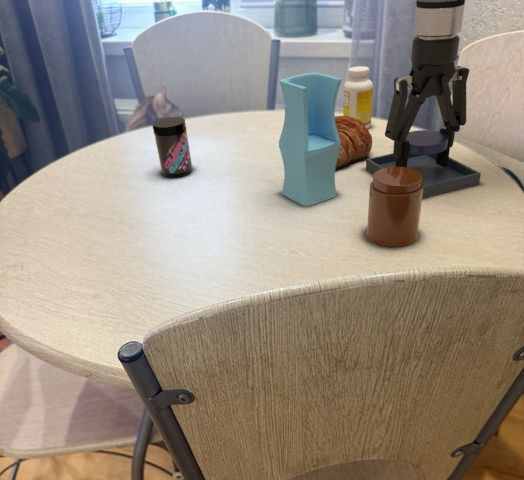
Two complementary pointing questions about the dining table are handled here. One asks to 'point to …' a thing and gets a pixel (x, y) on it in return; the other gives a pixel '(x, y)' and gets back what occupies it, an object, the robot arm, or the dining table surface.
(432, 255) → the dining table surface
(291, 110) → the blue toy chair
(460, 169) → the tray
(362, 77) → the supplement bottle
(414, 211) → the jar
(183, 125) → the supplement container
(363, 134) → the pastry
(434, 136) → the lid
